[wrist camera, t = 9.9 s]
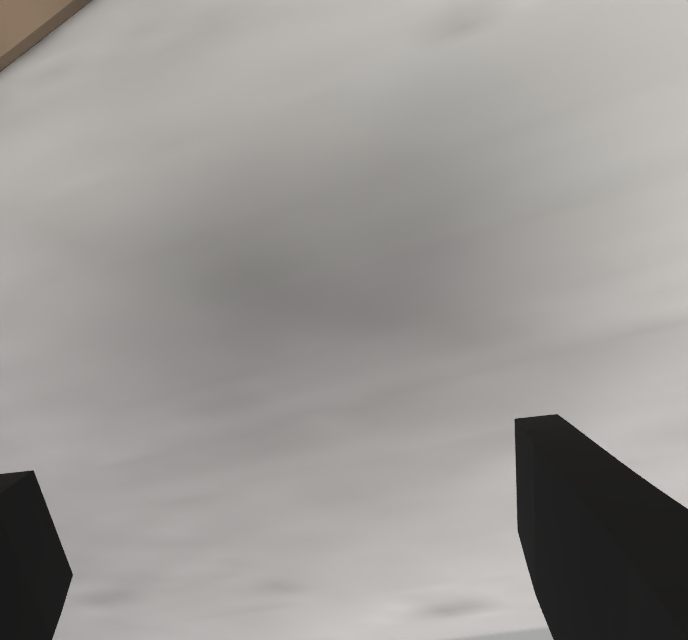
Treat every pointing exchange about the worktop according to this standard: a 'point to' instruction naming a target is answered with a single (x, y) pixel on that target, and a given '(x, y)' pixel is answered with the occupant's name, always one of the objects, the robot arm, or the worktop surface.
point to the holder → (30, 23)
